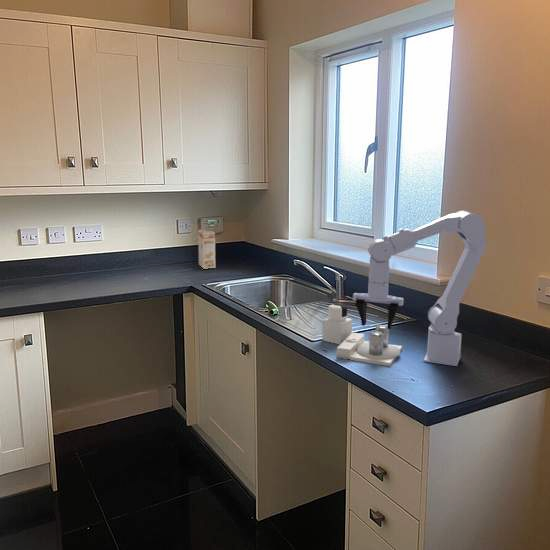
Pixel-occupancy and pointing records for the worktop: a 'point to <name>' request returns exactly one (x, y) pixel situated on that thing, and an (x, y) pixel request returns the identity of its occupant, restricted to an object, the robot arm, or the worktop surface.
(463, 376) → the worktop surface
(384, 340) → the cylinder
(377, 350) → the cylinder
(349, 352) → the scale
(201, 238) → the coffeecake box
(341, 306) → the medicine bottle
